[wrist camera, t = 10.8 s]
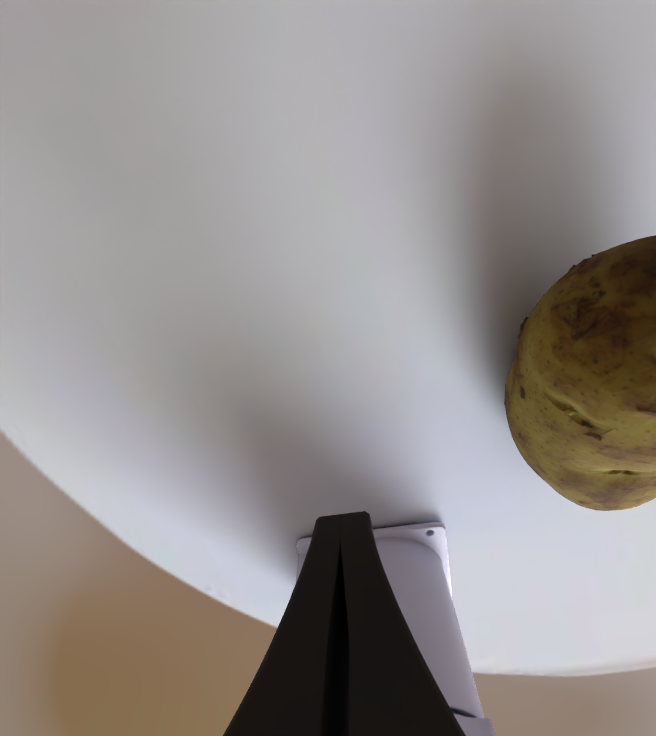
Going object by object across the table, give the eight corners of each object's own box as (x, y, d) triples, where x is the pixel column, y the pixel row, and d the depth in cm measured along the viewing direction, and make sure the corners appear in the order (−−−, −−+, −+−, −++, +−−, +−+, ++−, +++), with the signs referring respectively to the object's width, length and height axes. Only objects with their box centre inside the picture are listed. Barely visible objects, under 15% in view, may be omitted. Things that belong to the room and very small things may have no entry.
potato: (447, 457, 21) (505, 601, 14) (510, 209, 15) (667, 239, 8) (594, 464, 21) (726, 612, 14) (714, 221, 15) (1051, 261, 8)
